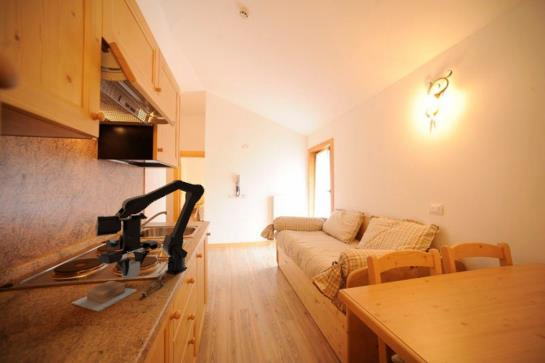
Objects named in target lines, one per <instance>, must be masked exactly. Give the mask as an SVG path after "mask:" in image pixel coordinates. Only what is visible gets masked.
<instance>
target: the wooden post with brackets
mask: <svg viewBox="0 0 545 363" xmlns="http://www.w3.org/2000/svg"><path fill="white" fill-rule="evenodd" d="M162 279H163V274H160V275H158V276H156V279H155V281H152V282H151V284H150V285H149V287H148V288H146V289H145V290H144V291H141V292H140V294H141V296H142V297H146V298H147V297H148V294H149V292H150V291H151V290H152V289H154V291H157V290H159V289H161V286H164V285H165V284H164V281H163V280H162ZM158 283H159V284H158ZM157 284H158V285H157ZM155 286H156V287H155Z"/></svg>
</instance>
